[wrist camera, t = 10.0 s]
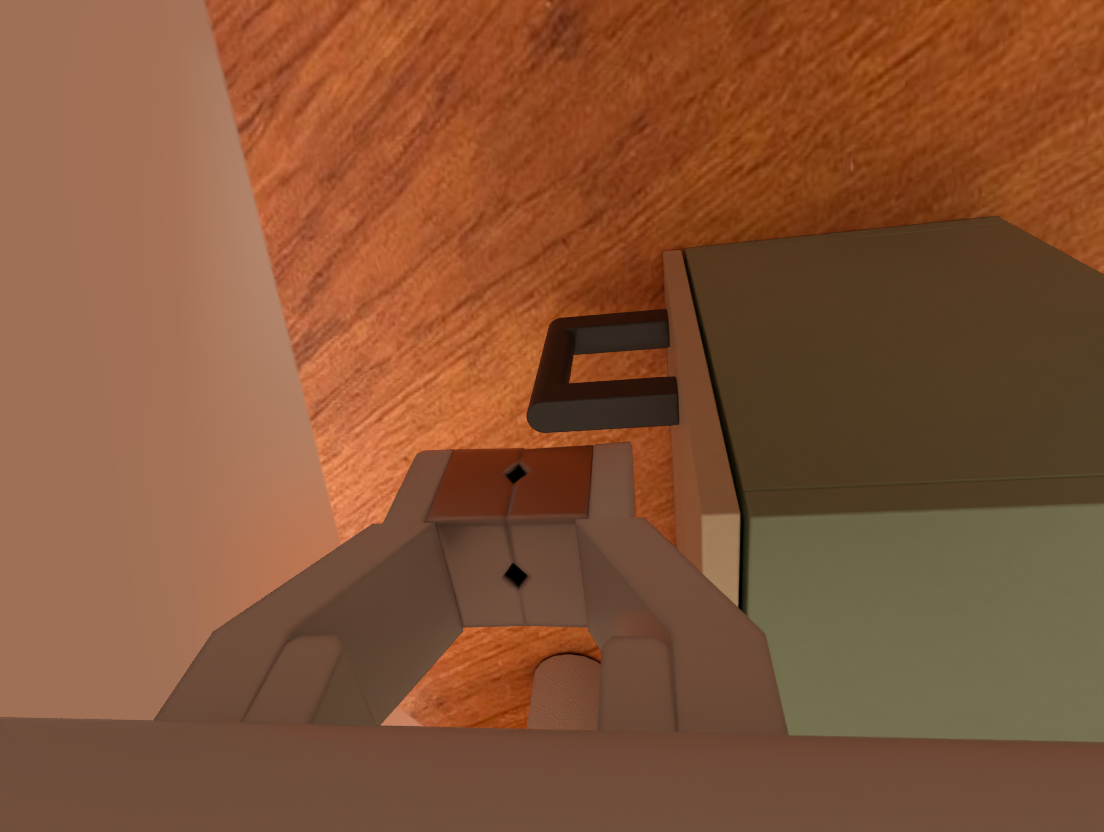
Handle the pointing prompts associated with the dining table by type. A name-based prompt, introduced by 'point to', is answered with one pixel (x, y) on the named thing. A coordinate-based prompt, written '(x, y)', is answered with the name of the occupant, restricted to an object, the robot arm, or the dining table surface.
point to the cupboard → (916, 475)
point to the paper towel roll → (565, 694)
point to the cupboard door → (654, 414)
